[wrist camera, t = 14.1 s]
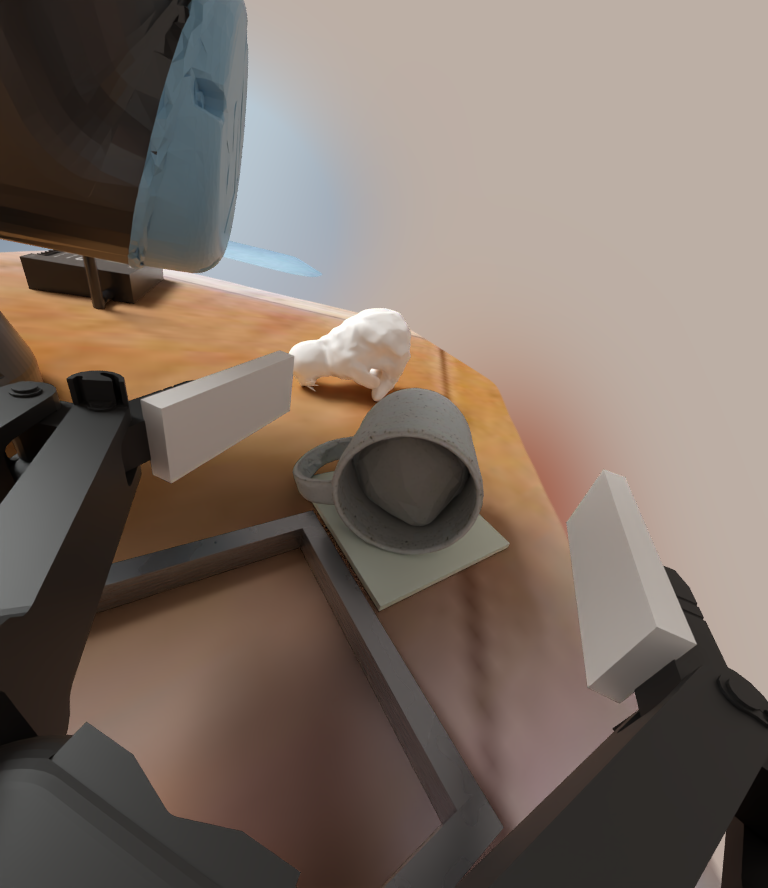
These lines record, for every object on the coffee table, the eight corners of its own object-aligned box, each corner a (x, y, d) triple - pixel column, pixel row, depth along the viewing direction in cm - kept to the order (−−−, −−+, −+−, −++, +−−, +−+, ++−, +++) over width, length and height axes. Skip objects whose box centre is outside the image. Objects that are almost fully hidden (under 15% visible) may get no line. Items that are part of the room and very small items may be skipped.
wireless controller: (71, 266, 53) (37, 119, 44) (176, 283, 58) (164, 153, 49) (-11, 298, 38) (-90, 79, 29) (141, 318, 42) (114, 135, 33)
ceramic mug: (451, 482, 26) (487, 389, 22) (455, 571, 19) (508, 458, 15) (314, 448, 26) (326, 349, 22) (269, 524, 19) (274, 400, 15)
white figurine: (423, 321, 32) (290, 315, 28) (408, 402, 37) (292, 407, 33) (399, 303, 37) (282, 296, 33) (389, 377, 42) (285, 379, 38)
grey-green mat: (299, 482, 23) (300, 477, 23) (415, 457, 29) (416, 454, 29) (378, 611, 17) (380, 606, 17) (507, 547, 22) (509, 543, 22)
